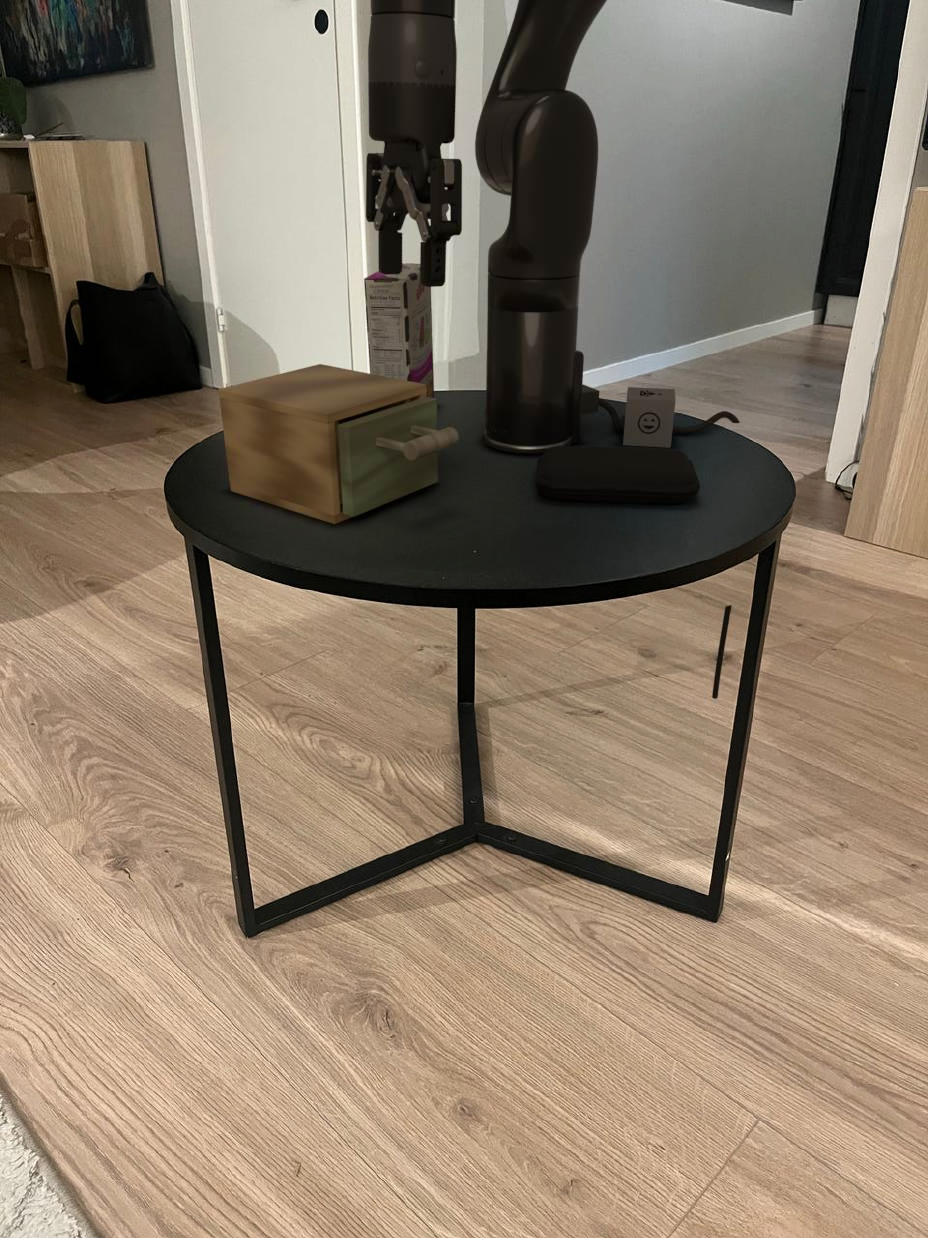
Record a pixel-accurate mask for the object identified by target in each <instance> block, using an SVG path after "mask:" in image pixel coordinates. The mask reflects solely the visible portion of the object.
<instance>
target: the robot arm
mask: <svg viewBox="0 0 928 1238" xmlns="http://www.w3.org/2000/svg"><path fill="white" fill-rule="evenodd" d="M607 1H608V0H518V1H517V6H516V9H515V12H514V17H513V20H512V23H511V26H510V30H509V32H508V35H507V39H506V42H505V44H504V47H503V50H502V53H501V56H500V57H499V58H500V59H499V62H498V64H497V67H496V70H495V73H494V75H493V78H492V80H491V84H490V86H489V89H488V91H487V94H486V97H485V100H484V103H483V106H482V108H481V112H480V116H479V120H478V122H477V125H476V130H475V131H476V132H475V138H474V156H475V162H476V166H477V169H478V172H479V174H480V176H481V178H482V180H483V182H484V183H485V185H486V186H488V187H489V188H490V189H491V190H492V191H494V192H496V193H497V194H500V195H503V196H508V197H510V204H509V214H508V223H507V225H506V228H505V229H504V231H503V232H502V234H501V235H500V236H499V237H498V238H496V239H495V240H493V241H492V242H491V243H490V244H489V246H488V249H487V264H486V265H487V268H486V270H487V271H486V272H487V273H486V274H487V275H486V304H487V305H486V360H485V361H486V363H485V364H486V365H485V366H486V370H485V371H486V372H485V375H486V377H485V378H486V379H485V380H486V381H485V409H484V410H483V421H484V422H485V423H484V424H485V426H484V427H485V431H484V442H485V444H486V445H487V446H489V447H491V448H492V449H495V450H498V451H502V452H505V453H506V452H507V453H511V454H512V453H513V454H521V455H523V454H524V455H542V454H544V453H545V451H546V450H547V449H549V448H551V447H554V446H572V445H574V444H579V443H580V435H581V434H580V432H581V415H587V414H593V413H598V412H599V406H600V407H602V408H603V409H604V410H605V411H607V413H608V414H609V416H610V418H611V422H612V426H613V427H614V430H615V431H616V432H617V433H618V434H624V426H625V415H623V416H621V417H620V418H619V415H618V412H617V411H616V409H615V408H614V406H613V405H611V404H610V403H609V402H607V401H606V400H605V399H602V398H600V393H601V392H600V390H599V389H596V388H594V387H591V386H588V385H587V384H584V382H583V381H584V380H583V379H584V363H585V355H584V353H583V352H582V351H581V350H578V349H577V345H578V343H577V342H578V325H579V323H578V321H579V303H580V302H579V301H580V285H581V284H580V282H581V267H582V266H581V265H582V260H583V257H584V254H585V252H586V249H587V247H588V244H589V241H590V237H591V232H592V226H593V219H594V218H593V217H594V216H593V215H594V207H595V199H596V198H595V196H596V187H597V177H598V167H599V136H598V135H599V133H598V128H597V123H596V120H595V117H594V115H593V112H592V110H591V108H590V106H589V105H588V103H587V102H586V100H584V98H583V97H581V96H580V95H579V94H578V93H576V92H573V91H571V90H568V89H567V85H568V82H569V79H570V74H571V71H572V68H573V65H574V62H575V58H576V56H577V54H578V51H579V49H580V47H581V44H582V42H583V41H584V38H585V37H586V35H587V33H588V32H589V29H590V28H591V26H592V24H593V23H594V21H595V20H596V18H597V16H598V15H599V13H600V11H601V10H602V9H603V8H604V6H605V4H606V3H607ZM370 15H371V16H370V23H369V24H370V25H369V27H370V28H369V35H368V43H367V44H368V45H367V75H368V78H367V79H368V82H367V85H368V87H367V89H368V90H367V91H368V93H367V94H368V96H367V97H368V136H369V138H370V139H371V140H373V141H375V142H383V143H384V146H383V152H375V153H374V152H368V153H367V155H366V164H365V165H366V169H365V170H366V174H365V176H366V177H365V179H366V180H365V219H366V221H367V222H368V223H373V227H374V230H375V231H376V232H377V236H378V237H377V238H378V239H377V240H378V241H377V243H378V249H377V250H378V253H377V254H378V255H377V257H378V271H380V273H382V274H386V275H387V274H399V273H401V271H402V263H403V232H400V231H401V230H402V229H403V227H404V226H403V225H404V223H405V220H406V217H407V215H408V216H409V217H410V219H412V220H413V221H415V222H416V225H417V229H418V232H419V237H420V238H421V239H420V240H421V241H420V247H419V248H420V249H419V250H420V251H419V254H420V255H419V259H420V260H419V262H420V263H419V264H420V283H421V284H422V285H423V286H426V287H431V288H435V287H436V288H437V287H443V286H444V285H445V283H446V269H447V267H446V266H447V265H446V263H447V262H446V261H447V242H450V241H451V239H452V237H455V236H460V235H461V234H462V231H463V164H462V160H461V159H460V158H442V149H441V147H442V145H443V144H446V145H447V144H451V143H452V142H453V141H454V140H455V136H456V103H457V100H456V99H457V69H458V68H457V64H458V48H457V47H458V46H457V37H456V20H455V19H456V0H370ZM376 207H377V208H376ZM448 212H450V213H449V214H450V215H449V217H450V220H449V219H448V215H447V213H448ZM429 221H430V222H429ZM721 419H727V420H728V421H730V422H731V423H732V424H740V423H741V422H740V420H739V418H738V417H737V416H736V415H735V414H733V413H732V412H730V411H727V410H722V411H719V412H717V413H715V414H714V415H712V416H710V417H709V418H708V419H706V420H704V421H705V422H704V421H702V422H701V423H699V424H696V425H690V426H677V425H673V430H672V433H674V434H692V433H698V432H701V431H704V430H705V429H707V428H709V427H711V426H712V425H714V424H715V423H717V422H718V421H719V420H721ZM732 607H733V606H732V604H730V605H725V607H724V613H723V618H722V624H721V631H720V638H719V643H718V651H717V657H716V662H715V671H714V678H713V686H712V695H711V698H712V699H714V700H717V699H718V697H719V690H720V689H719V688H720V683H721V682H720V681H721V674H722V667H723V660H724V654H725V648H726V642H727V635H728V629H729V623H730V619H731V618H730V617H731V611H732Z"/></svg>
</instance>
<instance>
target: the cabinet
mask: <svg viewBox="0 0 928 1238" xmlns="http://www.w3.org/2000/svg"><path fill="white" fill-rule="evenodd" d="M218 396H219V405H220V413H221V420H222V421H221V422H222V430H223V438H224V447H225V456H226V466H227V472H228V481H229V487H230V492H232V493H235V494H239V495H242V496H245V497H248V498H251V499H254V500H258V501H260V502H263V503H266V504H270V505H272V506H276V507H279V508H282V509H285V510H288V511H292V512H294V513H297V514H301V515H304V516H307V517H310V518H313V519H317V520H319V521H324V522H325V523H329V524H331V525H332V524H333V525H336V524H339V523H341V522H344V521H346V520H349V519H351V518H352V517H351V516H348V515H345V514H343V503H342V504H340V501H339V485H338V470H337V454H336V439H335V423H334V422H335V421H338V420H341V419H344V418H348V417H351V416H354V415H357V414H361V413H364V412H367V411H370V410H373V409H377V408H380V407H383V406H386V405H390V404H393V403H396V402H399V401H402V400H406V399H409V398H411V402H412V401H415V400H418V399H422V398H425V397H427V394H426V384H420V383H415V382H410V381H405V380H400V379H395V378H390V377H384V376H379V375H374V374H370V372H369V373H368V372H363V371H358V370H353V369H348V368H342V367H337V366H332V365H328V364H321V363H318V364H315V365H311V366H306V367H302V368H299V369H294V370H291V371H286V372H281V373H279V374H278V373H277V374H274V375H270V376H265V377H262V378H258V379H253V380H250V381H246V382H242V383H238V384H234V385H229V386H226V387H222V388H219V389H218Z"/></svg>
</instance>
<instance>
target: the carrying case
mask: <svg viewBox="0 0 928 1238" xmlns="http://www.w3.org/2000/svg"><path fill="white" fill-rule="evenodd" d="M535 485H536V487H537V488H538V489H539V490H540V491H541V492H542V494H543V495H544V496H545V497H546V498H548V499H552V500H556V501H557V500H558V501H579V502H580V501H581V502H603V503H604V502H605V503H629V504H631V503H632V504H664V505H666V504H670V505H675V504H683V503H684V504H685V503H687V502H689V501H690V500H691V499H692V498H693V497H694V496H696V495H697V494H698V493H699V491H700V490H701V484H700V481H699V478H698V474H697V472H696V469H695V466H694V463H693V461H692V460H691V459H689V457H688V456H687V454H686V453H685V452H683V450H679V449H674V448H673V449H672V448H655V447H628V446H627V447H626V446H625V447H624V446H623V447H622V446H590V445H589V446H587V445H584V446H582V445H570V446H554V447H551V448H549V449H547V450H546V451H545V453H542V454H540V456H539V458H538V460H537V466H536V474H535Z"/></svg>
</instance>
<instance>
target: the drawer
mask: <svg viewBox="0 0 928 1238" xmlns="http://www.w3.org/2000/svg"><path fill="white" fill-rule="evenodd" d="M334 423H335V439H336V454H337V470H338V485H339V501H340V504H342V503H343V514H345V515H348V516H351V518H355V517H357V516H359V515H362V514H364V513H367V512H369V511H371V510H374V509H376V508H378V507H381V506H383V505H385V504H388V503H391V502H393V501H395V500H398V499H401V498H403V497H405V496H407V495H409V494H412V493H415V492H417V491H419V490H421V489H424V488H427V487H429V486H431V485H434V484H436V483H438V482H439V456H438V455H439V451H440V452H441V451H443V450H445V449H448V448H450V447H453V446H455V445H457V444H458V442H459V438H460V436H459V432H458V430H457V429H456V428H454V427H452V426H447V427H444V428H442V429H439V430H438V398H435V397H434V398H430V397H425V398H422V399H418V400H415V401H412V402H411V398H409V399H406V400H402V401H399V402H396V403H393V404H390V405H386V406H383V407H380V408H377V409H373V410H370V411H367V412H364V413H361V414H357V415H354V416H351V417H348V418H344V419H341V420H338V421H335V422H334Z"/></svg>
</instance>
